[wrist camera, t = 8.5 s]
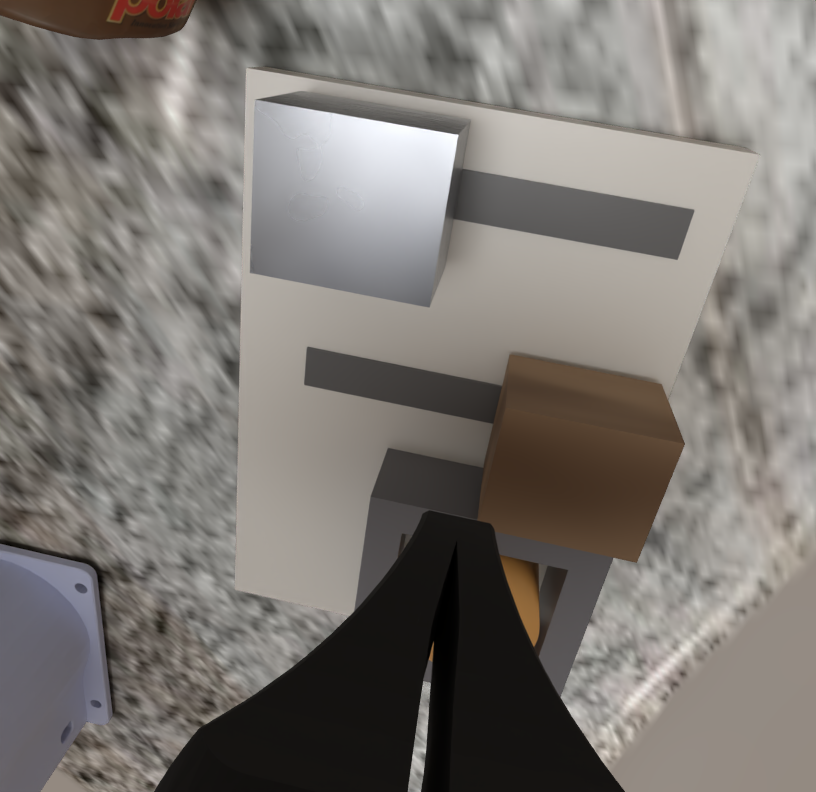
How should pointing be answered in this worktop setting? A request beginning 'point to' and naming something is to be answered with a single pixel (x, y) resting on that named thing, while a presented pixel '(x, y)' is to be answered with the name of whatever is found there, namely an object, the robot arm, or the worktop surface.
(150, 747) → the worktop surface
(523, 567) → the orange button
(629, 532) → the small cardboard carton
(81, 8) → the tin
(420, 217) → the grey slider
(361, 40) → the worktop surface
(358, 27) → the worktop surface
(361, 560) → the panel
